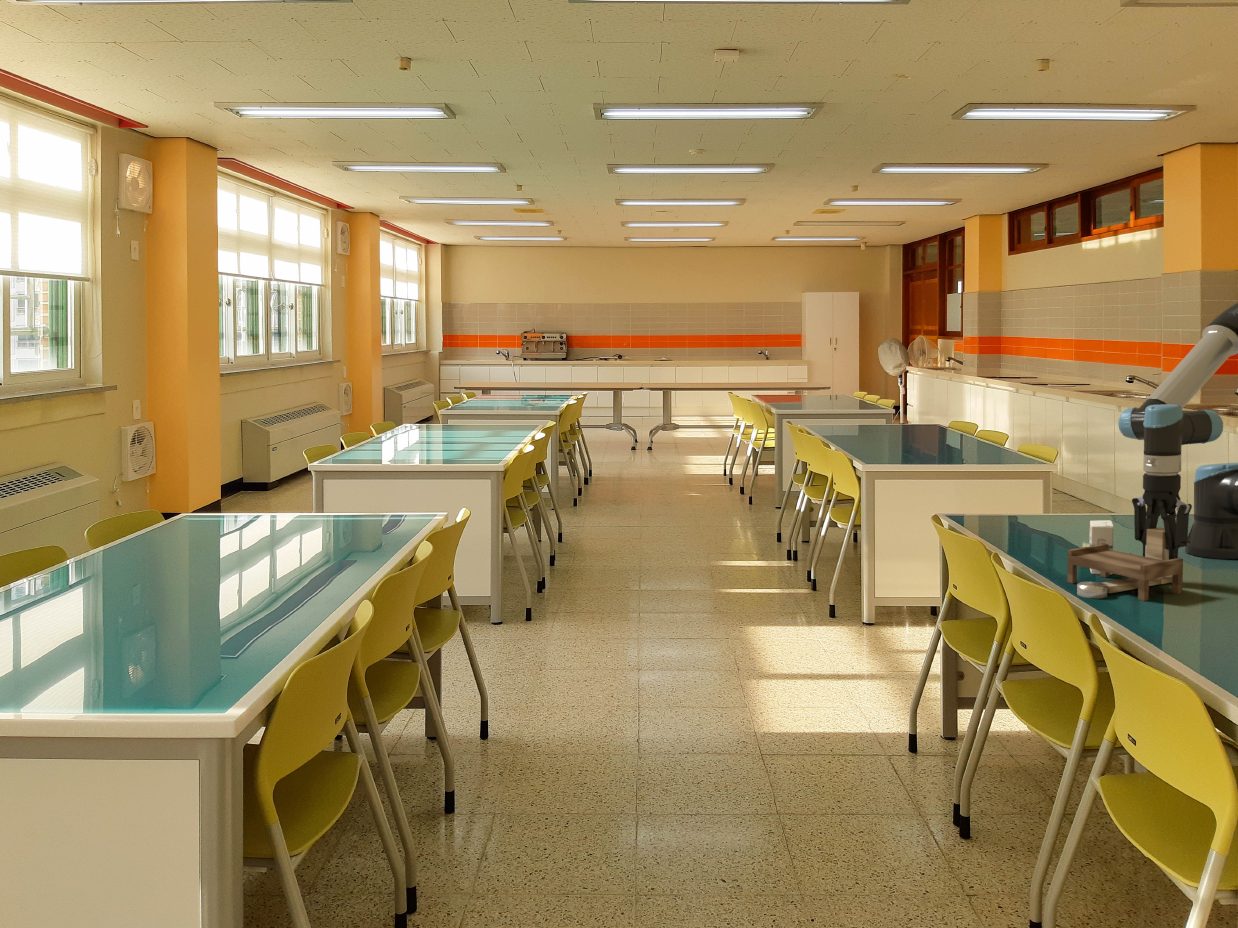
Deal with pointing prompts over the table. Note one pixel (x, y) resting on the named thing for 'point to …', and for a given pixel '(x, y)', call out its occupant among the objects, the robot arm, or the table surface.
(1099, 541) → the ink box
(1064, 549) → the table surface
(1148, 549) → the bookend
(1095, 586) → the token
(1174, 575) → the riser
